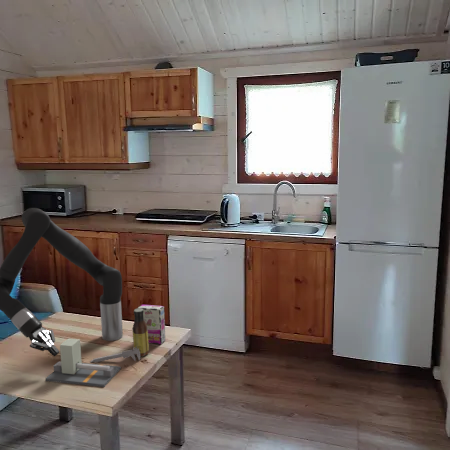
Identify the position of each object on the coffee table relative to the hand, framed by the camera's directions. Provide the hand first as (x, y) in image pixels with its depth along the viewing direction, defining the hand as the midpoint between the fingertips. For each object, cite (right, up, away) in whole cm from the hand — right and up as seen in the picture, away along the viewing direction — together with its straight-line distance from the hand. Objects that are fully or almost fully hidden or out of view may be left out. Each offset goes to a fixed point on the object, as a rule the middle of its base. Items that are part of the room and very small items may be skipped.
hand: (57, 354), depth 175 cm
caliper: (+20, -6, +10) cm, 23 cm away
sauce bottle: (+30, -5, +16) cm, 34 cm away
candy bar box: (+32, -3, +29) cm, 43 cm away
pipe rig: (+11, -8, -1) cm, 13 cm away
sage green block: (+6, -6, 0) cm, 8 cm away
